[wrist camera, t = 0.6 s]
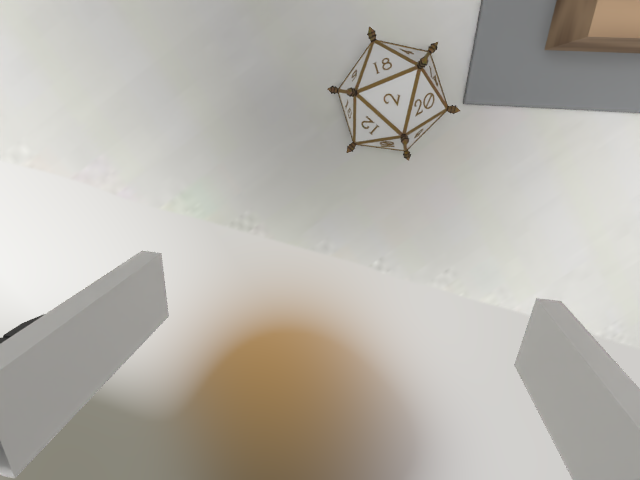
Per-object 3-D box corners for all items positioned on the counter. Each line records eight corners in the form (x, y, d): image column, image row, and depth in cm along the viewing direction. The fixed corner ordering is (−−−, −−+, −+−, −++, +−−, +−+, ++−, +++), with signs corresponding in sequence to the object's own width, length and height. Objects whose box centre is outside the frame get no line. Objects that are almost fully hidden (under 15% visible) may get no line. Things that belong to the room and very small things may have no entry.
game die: (395, 77, 33) (465, -11, 23) (422, 165, 32) (507, 111, 23) (303, 89, 30) (340, -4, 21) (331, 185, 30) (383, 135, 20)
